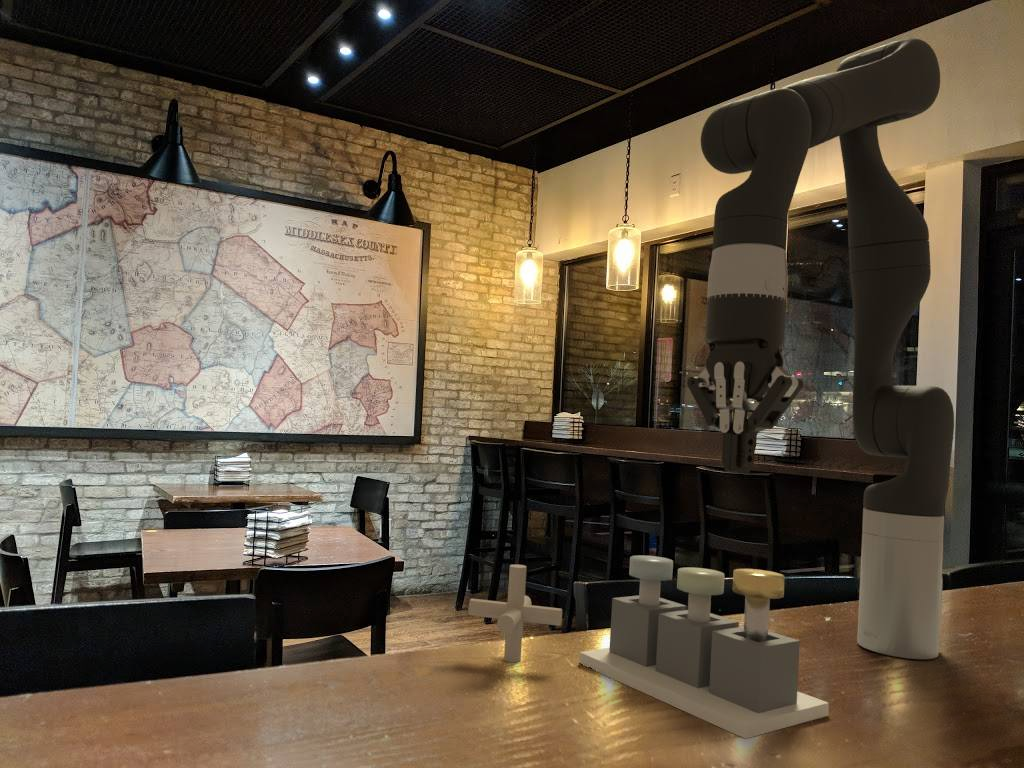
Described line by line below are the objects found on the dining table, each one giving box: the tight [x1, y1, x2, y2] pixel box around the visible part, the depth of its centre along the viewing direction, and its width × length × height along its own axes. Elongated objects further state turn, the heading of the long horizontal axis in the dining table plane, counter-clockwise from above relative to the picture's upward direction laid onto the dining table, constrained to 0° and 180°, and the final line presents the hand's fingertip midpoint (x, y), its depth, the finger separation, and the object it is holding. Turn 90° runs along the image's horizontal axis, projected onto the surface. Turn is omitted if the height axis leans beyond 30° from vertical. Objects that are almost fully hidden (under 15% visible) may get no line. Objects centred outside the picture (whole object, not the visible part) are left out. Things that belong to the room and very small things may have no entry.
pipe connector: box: [467, 564, 563, 663], centre depth 86 cm, size 10×10×10 cm
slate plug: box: [628, 554, 674, 607], centre depth 86 cm, size 5×5×8 cm
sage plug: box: [676, 566, 725, 623], centre depth 80 cm, size 5×5×8 cm
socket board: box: [578, 595, 830, 740], centre depth 80 cm, size 12×22×7 cm, turn 35°
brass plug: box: [732, 568, 786, 642], centre depth 74 cm, size 5×5×8 cm
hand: (737, 472), depth 77 cm, fingers closed
